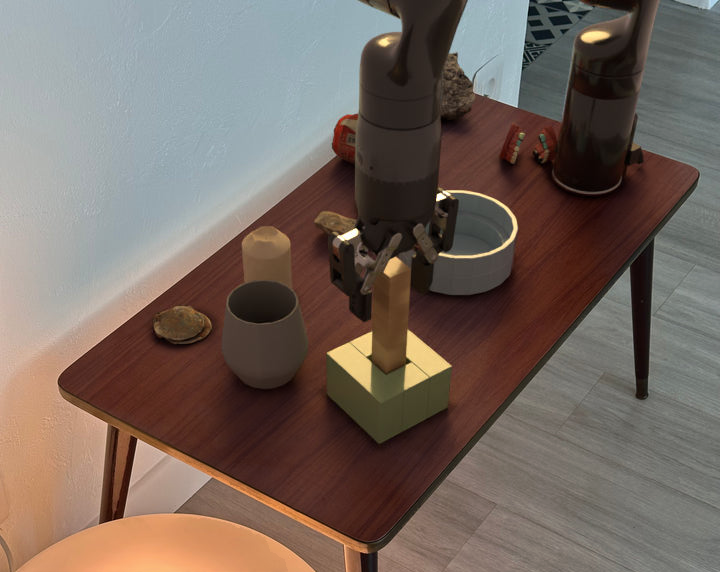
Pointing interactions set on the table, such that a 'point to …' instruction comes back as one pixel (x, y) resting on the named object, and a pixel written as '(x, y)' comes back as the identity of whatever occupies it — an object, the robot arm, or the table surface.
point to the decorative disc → (181, 325)
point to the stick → (391, 316)
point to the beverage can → (345, 137)
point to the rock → (455, 90)
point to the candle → (267, 256)
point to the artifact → (334, 223)
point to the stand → (387, 386)
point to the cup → (264, 333)
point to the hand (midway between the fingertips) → (391, 302)
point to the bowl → (475, 247)
